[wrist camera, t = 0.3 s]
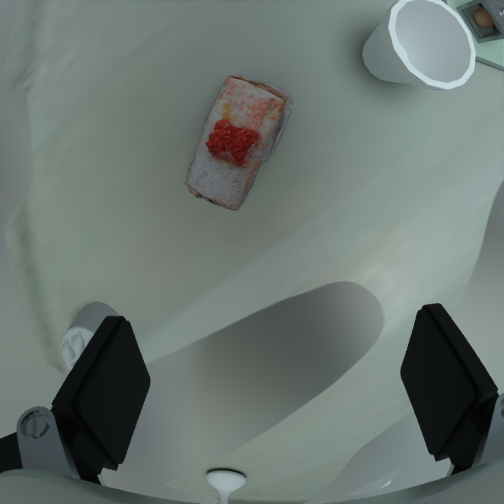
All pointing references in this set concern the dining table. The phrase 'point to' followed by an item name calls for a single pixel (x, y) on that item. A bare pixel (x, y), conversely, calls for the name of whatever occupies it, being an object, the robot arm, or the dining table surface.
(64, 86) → the dining table surface
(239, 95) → the food item
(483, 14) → the ball
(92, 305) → the lumpy-topped squat cylinder
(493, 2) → the knobbed drawer box
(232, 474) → the flower in vase
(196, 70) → the dining table surface
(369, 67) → the foam cup
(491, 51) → the tray
